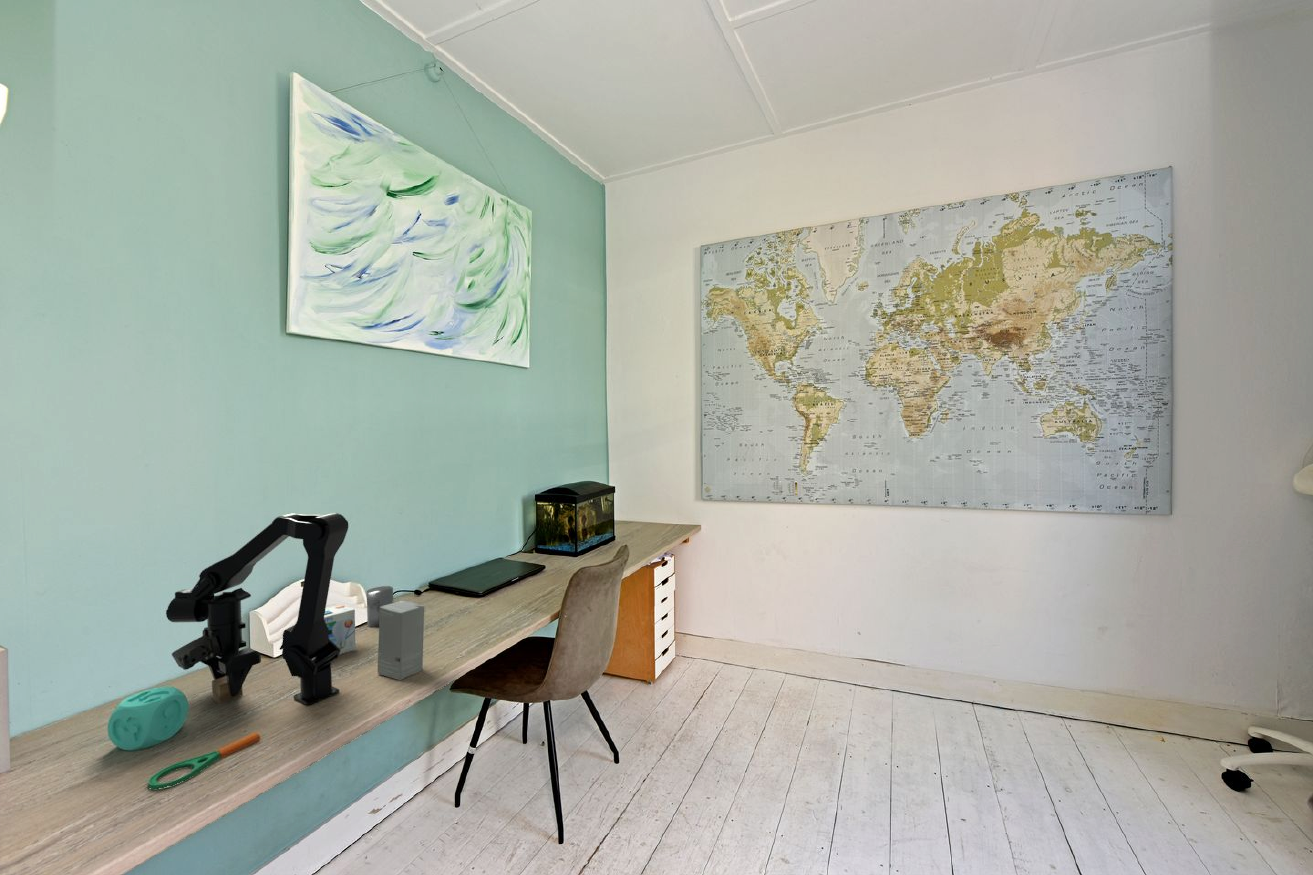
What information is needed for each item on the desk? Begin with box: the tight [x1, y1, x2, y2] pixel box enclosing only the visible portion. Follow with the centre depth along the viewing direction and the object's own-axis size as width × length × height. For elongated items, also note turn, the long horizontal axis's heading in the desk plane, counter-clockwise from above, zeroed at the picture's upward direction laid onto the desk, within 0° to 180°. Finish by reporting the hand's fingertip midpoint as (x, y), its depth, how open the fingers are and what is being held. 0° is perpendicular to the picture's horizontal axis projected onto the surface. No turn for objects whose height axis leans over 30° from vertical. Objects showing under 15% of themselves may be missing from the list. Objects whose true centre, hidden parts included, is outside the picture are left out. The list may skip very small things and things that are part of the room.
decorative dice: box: [107, 686, 190, 751], centre depth 99 cm, size 8×8×8 cm
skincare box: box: [377, 600, 425, 681], centre depth 124 cm, size 8×7×16 cm
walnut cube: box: [211, 676, 244, 704], centre depth 114 cm, size 4×4×4 cm
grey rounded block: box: [366, 585, 394, 628], centre depth 156 cm, size 7×7×10 cm
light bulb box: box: [311, 604, 356, 660], centre depth 136 cm, size 11×7×11 cm, turn 143°
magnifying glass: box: [147, 731, 261, 790], centre depth 91 cm, size 15×6×2 cm, turn 150°
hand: (227, 692), depth 114 cm, fingers open, 7 cm apart
